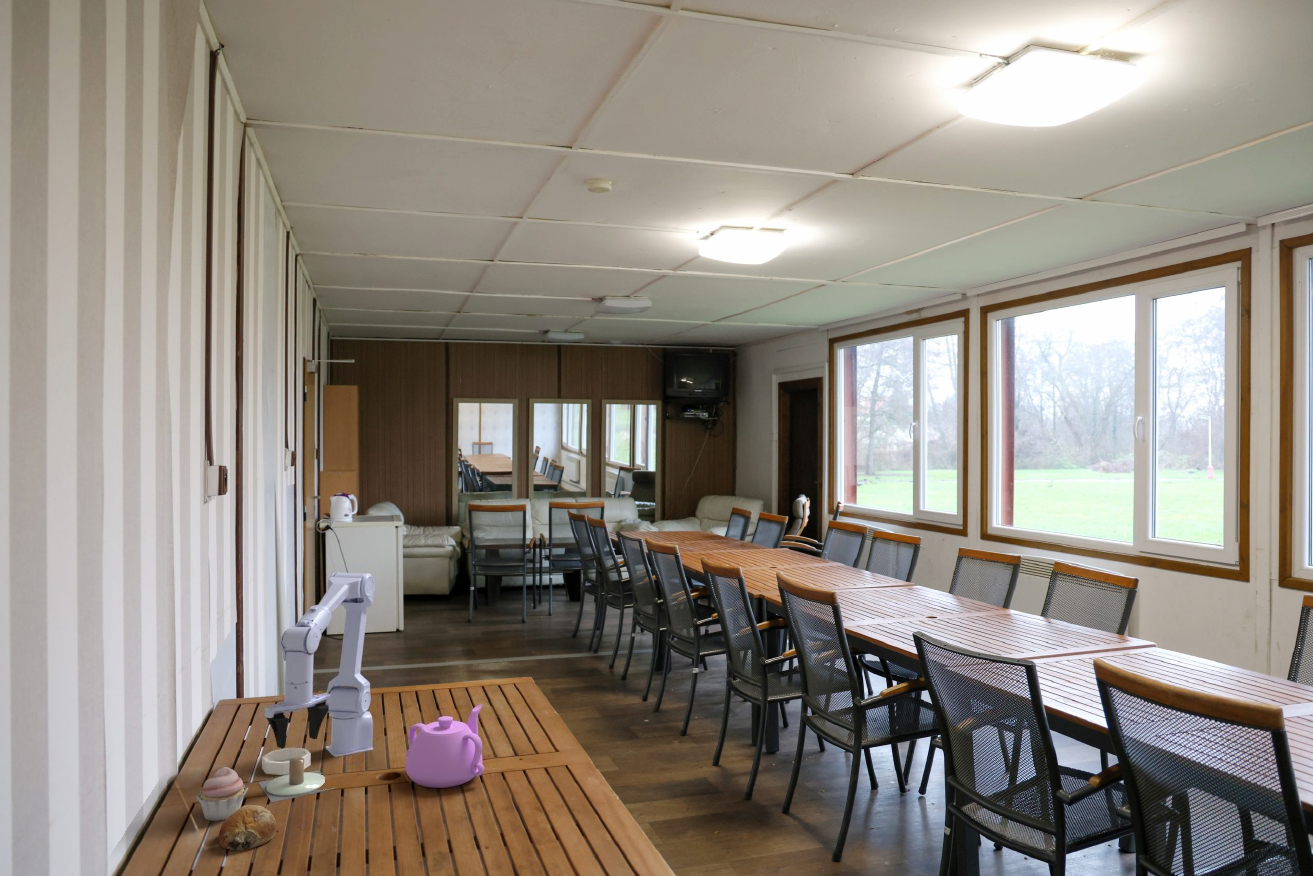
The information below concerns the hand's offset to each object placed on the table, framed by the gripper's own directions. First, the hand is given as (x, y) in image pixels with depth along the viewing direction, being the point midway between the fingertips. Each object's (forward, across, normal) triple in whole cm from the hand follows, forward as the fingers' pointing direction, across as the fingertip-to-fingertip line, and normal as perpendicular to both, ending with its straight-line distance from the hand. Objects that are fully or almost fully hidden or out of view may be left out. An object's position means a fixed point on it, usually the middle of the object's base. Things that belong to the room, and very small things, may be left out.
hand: (297, 742), depth 188 cm
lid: (+9, 0, 0) cm, 9 cm away
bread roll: (+10, +20, +16) cm, 27 cm away
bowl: (+10, -5, -12) cm, 16 cm away
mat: (+10, 0, 0) cm, 10 cm away
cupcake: (+10, +17, +2) cm, 20 cm away
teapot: (+10, -26, +20) cm, 35 cm away
